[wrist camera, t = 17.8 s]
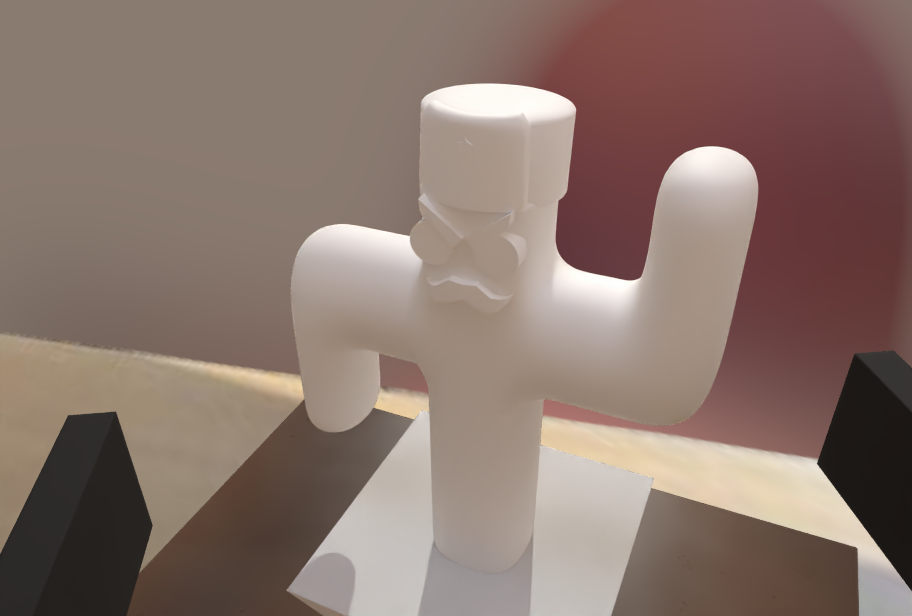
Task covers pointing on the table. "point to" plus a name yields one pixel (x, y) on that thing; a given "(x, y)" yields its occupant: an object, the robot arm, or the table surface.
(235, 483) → the shelf stand
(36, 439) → the table surface
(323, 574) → the figurine
